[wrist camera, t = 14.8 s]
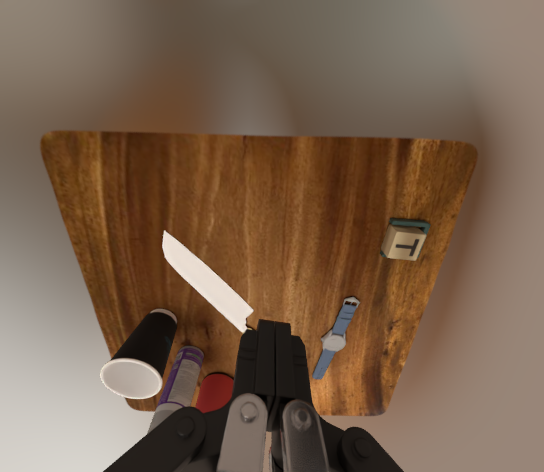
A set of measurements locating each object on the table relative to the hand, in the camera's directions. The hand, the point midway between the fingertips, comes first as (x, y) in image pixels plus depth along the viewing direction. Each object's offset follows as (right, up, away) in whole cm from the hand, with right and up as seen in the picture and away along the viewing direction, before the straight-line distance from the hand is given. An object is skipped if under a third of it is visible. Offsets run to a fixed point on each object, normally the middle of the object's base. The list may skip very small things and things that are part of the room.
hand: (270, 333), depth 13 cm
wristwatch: (+11, -13, +34) cm, 38 cm away
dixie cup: (-18, -9, +32) cm, 38 cm away
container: (-15, -17, +36) cm, 42 cm away
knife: (-6, -7, +31) cm, 32 cm away
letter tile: (+18, +4, +25) cm, 31 cm away
